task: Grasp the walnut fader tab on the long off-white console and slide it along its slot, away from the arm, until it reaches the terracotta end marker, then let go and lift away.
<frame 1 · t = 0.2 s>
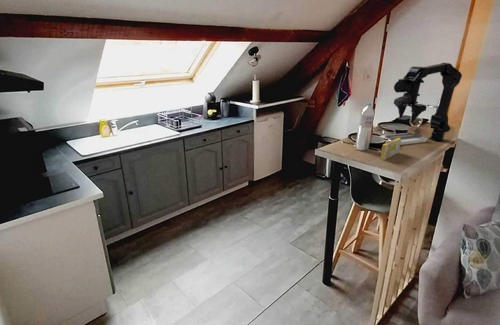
hand: (406, 119, 162), 14 cm above the breakfast bar, tool pointing down, fingers open, 9 cm apart
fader: (413, 131, 173), point 5 cm above the breakfast bar, slide at 0.0 cm
candy box: (389, 156, 151), on the breakfast bar
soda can: (363, 143, 169), on the breakfast bar
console: (402, 140, 173), on the breakfast bar
water bottle: (361, 149, 159), on the breakfast bar
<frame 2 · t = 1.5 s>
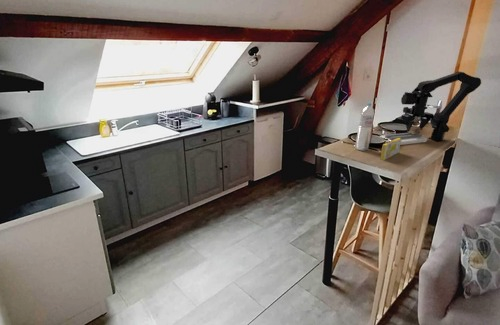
hand: (414, 130, 173), 5 cm above the breakfast bar, tool pointing down, fingers open, 9 cm apart
nothing on the breakfast bar moved.
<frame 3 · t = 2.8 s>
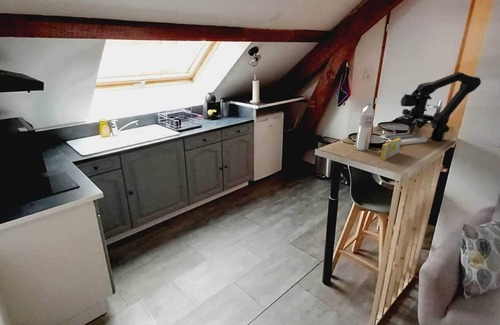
hand: (413, 132, 174), 4 cm above the breakfast bar, tool pointing down, fingers closed on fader, 4 cm apart
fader: (413, 131, 173), point 5 cm above the breakfast bar, slide at 0.0 cm, touching gripper
everything else where it was.
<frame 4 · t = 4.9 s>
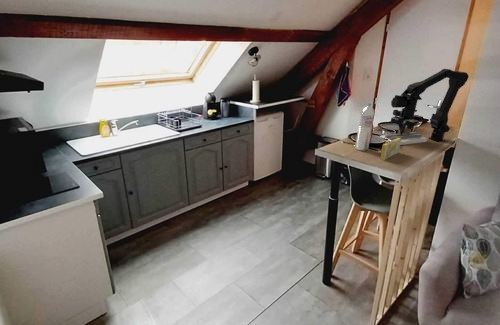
hand: (403, 133, 171), 4 cm above the breakfast bar, tool pointing down, fingers closed on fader, 4 cm apart
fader: (404, 132, 171), point 5 cm above the breakfast bar, slide at 7.1 cm, touching gripper
everything else where it was.
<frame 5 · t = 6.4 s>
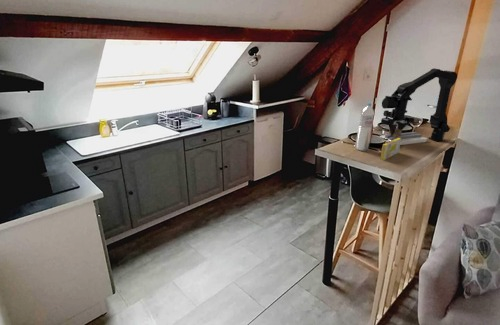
hand: (394, 134, 170), 4 cm above the breakfast bar, tool pointing down, fingers closed on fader, 4 cm apart
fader: (394, 133, 169), point 5 cm above the breakfast bar, slide at 14.0 cm, touching gripper
everything else where it was.
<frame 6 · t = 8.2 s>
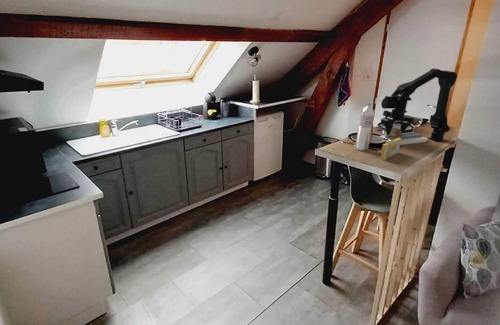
hand: (394, 134, 169), 4 cm above the breakfast bar, tool pointing down, fingers open, 9 cm apart
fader: (394, 133, 169), point 5 cm above the breakfast bar, slide at 14.0 cm
everything else where it was.
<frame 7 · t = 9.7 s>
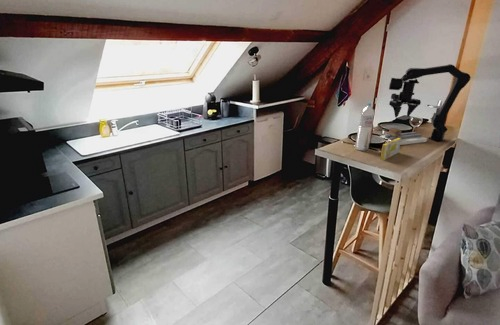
hand: (402, 116, 177), 12 cm above the breakfast bar, tool pointing down, fingers open, 9 cm apart
nothing on the breakfast bar moved.
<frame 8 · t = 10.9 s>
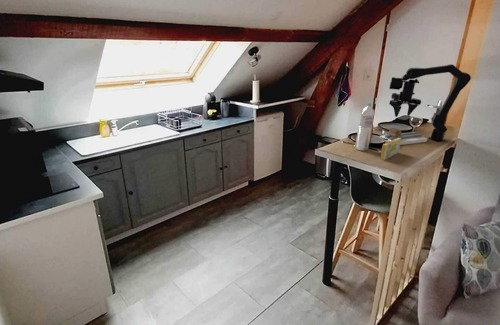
hand: (402, 116, 178), 12 cm above the breakfast bar, tool pointing down, fingers open, 9 cm apart
nothing on the breakfast bar moved.
at the end: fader slide at 14.0 cm; the gripper is holding nothing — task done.
